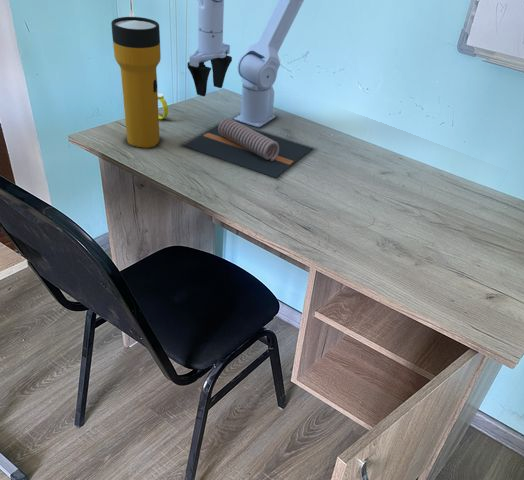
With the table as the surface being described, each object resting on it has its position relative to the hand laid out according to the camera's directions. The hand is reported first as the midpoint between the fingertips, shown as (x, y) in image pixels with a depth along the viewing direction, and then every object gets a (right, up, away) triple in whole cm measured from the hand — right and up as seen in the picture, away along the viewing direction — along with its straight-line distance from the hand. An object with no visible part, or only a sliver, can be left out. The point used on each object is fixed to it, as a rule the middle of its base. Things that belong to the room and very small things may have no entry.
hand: (209, 91), depth 133 cm
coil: (+9, -14, 0) cm, 17 cm away
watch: (-14, -3, +9) cm, 17 cm away
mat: (+10, -14, 0) cm, 17 cm away
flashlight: (-16, -14, -2) cm, 21 cm away
